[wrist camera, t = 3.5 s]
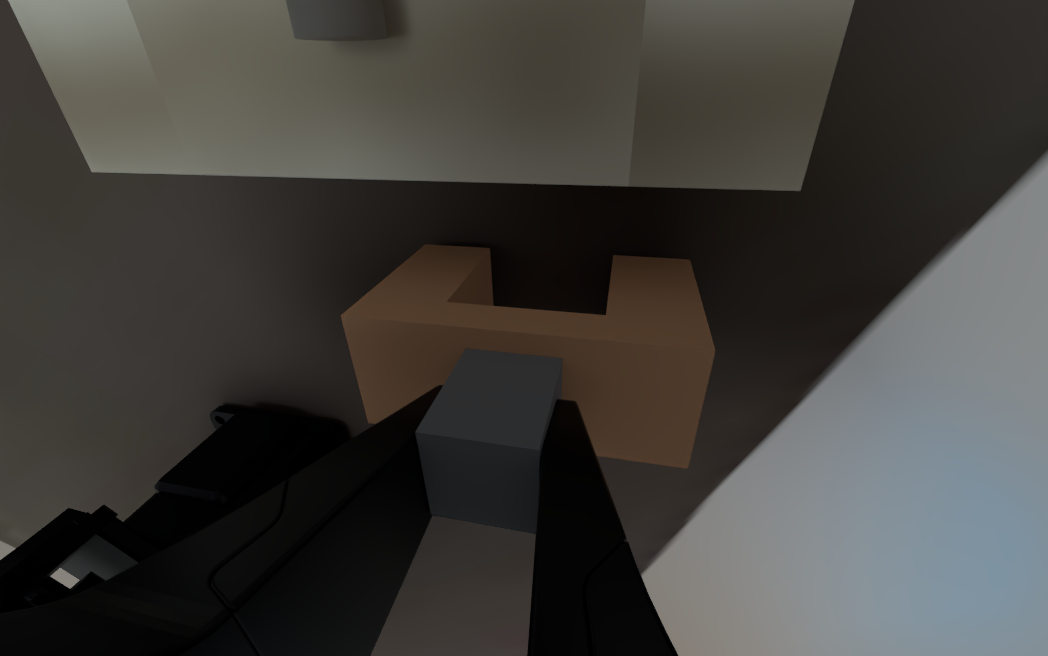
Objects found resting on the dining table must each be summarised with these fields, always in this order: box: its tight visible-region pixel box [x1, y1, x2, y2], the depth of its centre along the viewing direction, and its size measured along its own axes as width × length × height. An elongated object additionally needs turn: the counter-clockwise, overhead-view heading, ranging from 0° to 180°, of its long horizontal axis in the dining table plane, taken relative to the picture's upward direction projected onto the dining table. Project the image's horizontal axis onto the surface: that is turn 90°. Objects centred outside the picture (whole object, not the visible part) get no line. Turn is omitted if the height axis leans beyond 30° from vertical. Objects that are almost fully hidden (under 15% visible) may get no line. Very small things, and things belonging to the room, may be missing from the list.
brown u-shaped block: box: [341, 244, 715, 534], centre depth 10 cm, size 3×8×7 cm, turn 92°
